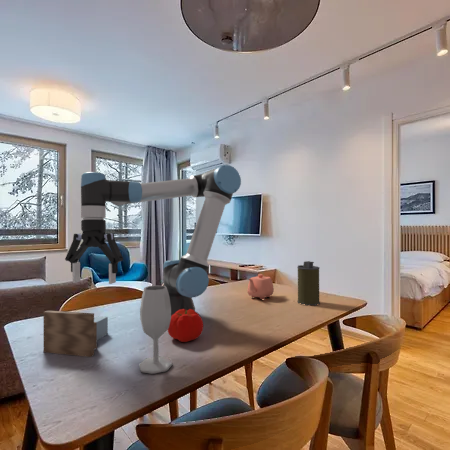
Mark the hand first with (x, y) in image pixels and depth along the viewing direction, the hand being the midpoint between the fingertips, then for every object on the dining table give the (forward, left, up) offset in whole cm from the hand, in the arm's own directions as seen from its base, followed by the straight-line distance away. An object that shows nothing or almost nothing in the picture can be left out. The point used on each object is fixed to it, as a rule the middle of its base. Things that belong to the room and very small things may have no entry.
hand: (94, 282), depth 97 cm
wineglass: (-29, +14, -19) cm, 37 cm away
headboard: (0, +10, -19) cm, 21 cm away
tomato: (-30, -6, -19) cm, 36 cm away
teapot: (-49, -67, -19) cm, 85 cm away
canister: (-73, -61, -19) cm, 97 cm away
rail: (0, +2, -19) cm, 19 cm away
